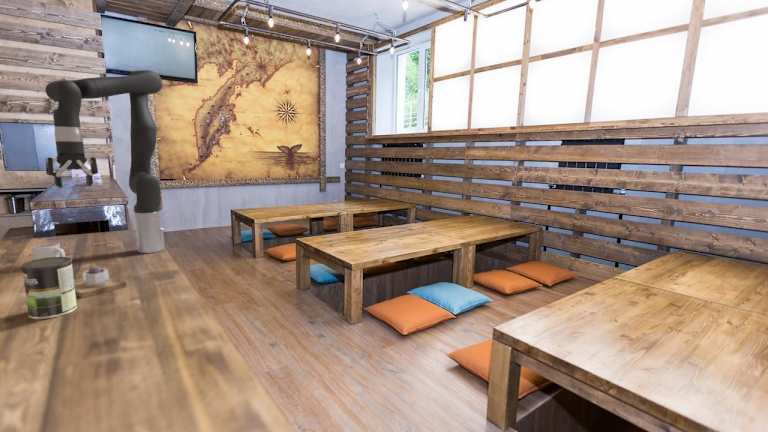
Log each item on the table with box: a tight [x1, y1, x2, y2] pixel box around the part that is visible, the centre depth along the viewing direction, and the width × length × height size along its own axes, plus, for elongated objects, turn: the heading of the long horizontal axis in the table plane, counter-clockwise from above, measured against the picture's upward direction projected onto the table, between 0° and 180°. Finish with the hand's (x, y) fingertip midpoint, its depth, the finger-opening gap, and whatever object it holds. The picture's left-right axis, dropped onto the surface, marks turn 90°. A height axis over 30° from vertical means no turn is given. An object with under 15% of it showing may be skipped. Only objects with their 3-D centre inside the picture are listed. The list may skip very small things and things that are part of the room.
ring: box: [81, 267, 110, 287], centre depth 122 cm, size 6×6×4 cm
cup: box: [31, 242, 66, 260], centre depth 143 cm, size 11×8×8 cm
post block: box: [74, 266, 127, 299], centre depth 122 cm, size 12×12×6 cm
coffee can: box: [20, 256, 78, 320], centre depth 104 cm, size 10×10×14 cm
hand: (74, 186), depth 137 cm, fingers open, 8 cm apart
